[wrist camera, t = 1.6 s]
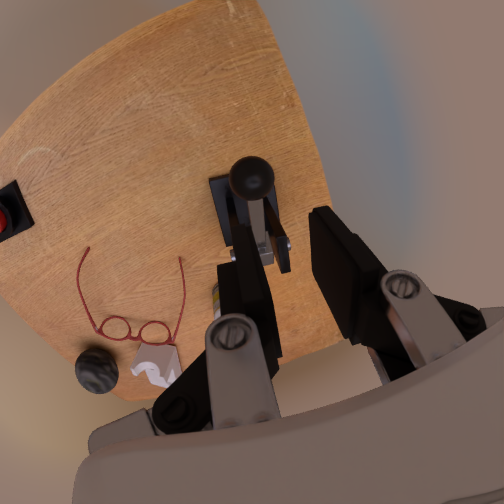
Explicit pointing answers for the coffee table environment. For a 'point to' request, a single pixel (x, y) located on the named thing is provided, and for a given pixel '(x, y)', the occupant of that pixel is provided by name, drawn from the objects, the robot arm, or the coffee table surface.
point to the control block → (14, 211)
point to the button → (2, 221)
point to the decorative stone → (96, 371)
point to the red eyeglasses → (99, 331)
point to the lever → (255, 198)
